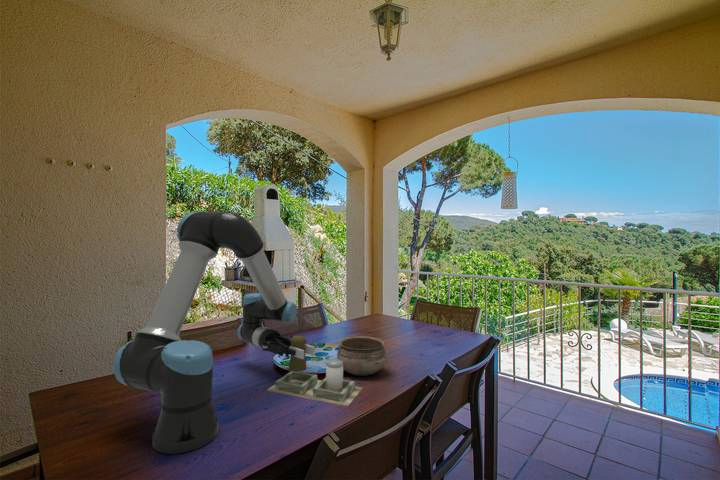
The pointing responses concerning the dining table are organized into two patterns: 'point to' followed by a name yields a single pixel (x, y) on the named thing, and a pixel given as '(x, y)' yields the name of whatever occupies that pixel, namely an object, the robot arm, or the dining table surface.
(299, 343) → the pepper mill
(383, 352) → the cooking pot
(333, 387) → the salt shaker
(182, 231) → the robot arm
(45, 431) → the dining table surface
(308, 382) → the condiment caddy
